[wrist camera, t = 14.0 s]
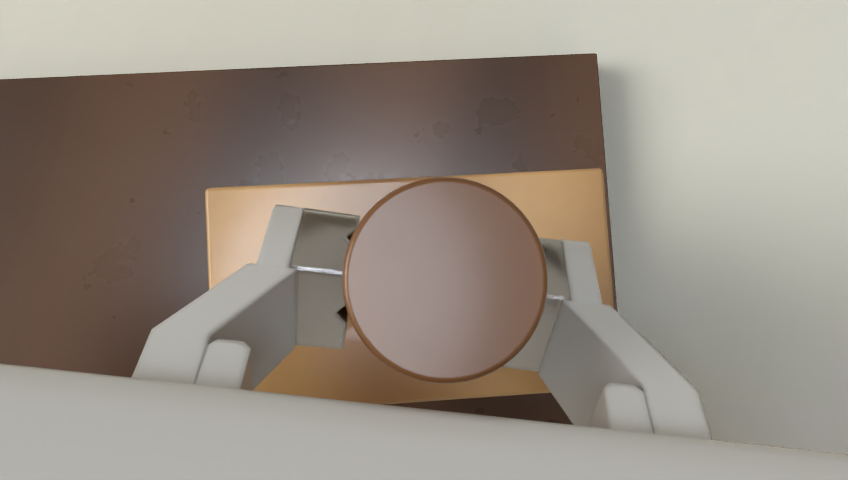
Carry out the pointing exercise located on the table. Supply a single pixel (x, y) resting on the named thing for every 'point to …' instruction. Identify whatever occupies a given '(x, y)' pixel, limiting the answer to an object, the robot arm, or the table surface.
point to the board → (243, 179)
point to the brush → (424, 277)
